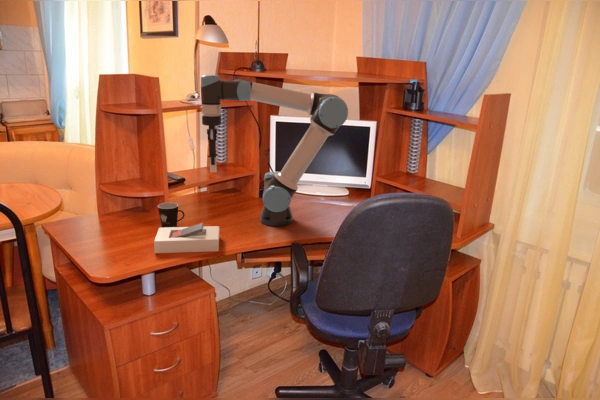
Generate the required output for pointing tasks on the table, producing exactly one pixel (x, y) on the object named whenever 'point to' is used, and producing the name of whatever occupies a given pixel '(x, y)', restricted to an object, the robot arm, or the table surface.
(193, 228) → the breaker rocker
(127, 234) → the table surface
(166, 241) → the breaker panel
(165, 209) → the coffee mug
